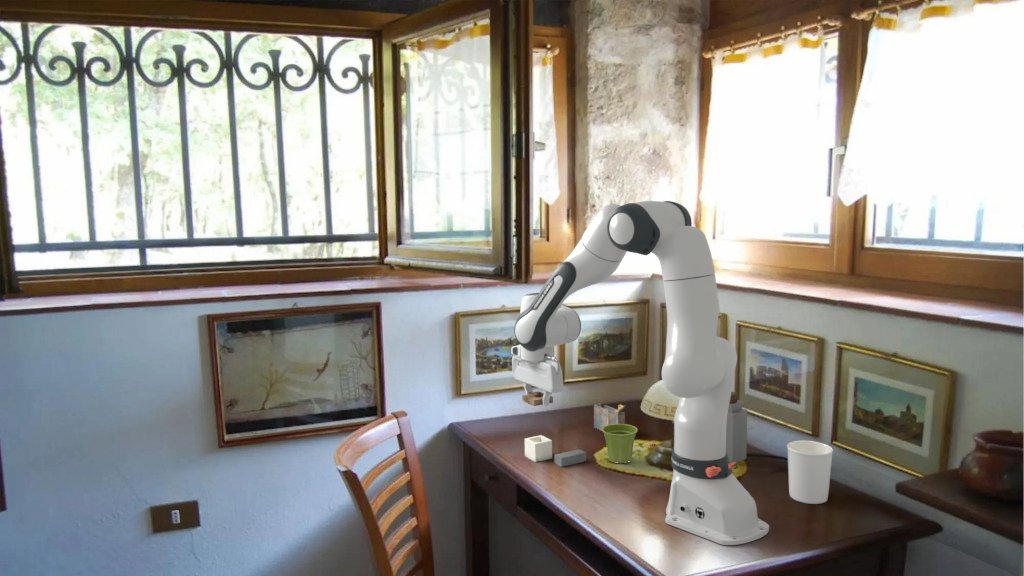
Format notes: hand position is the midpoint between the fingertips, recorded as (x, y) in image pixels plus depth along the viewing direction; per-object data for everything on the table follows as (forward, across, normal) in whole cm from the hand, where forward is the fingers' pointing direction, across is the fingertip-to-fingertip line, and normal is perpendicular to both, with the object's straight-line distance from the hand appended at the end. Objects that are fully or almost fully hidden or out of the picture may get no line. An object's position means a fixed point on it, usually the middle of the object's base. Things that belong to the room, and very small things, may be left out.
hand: (537, 401), depth 196 cm
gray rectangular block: (+15, -8, -5) cm, 18 cm away
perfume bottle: (+16, -29, -42) cm, 53 cm away
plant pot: (+16, -14, -17) cm, 27 cm away
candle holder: (+16, -57, -38) cm, 70 cm away
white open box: (+16, 0, 0) cm, 16 cm away
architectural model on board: (+16, +7, -30) cm, 35 cm away
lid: (0, 0, 0) cm, 0 cm away
